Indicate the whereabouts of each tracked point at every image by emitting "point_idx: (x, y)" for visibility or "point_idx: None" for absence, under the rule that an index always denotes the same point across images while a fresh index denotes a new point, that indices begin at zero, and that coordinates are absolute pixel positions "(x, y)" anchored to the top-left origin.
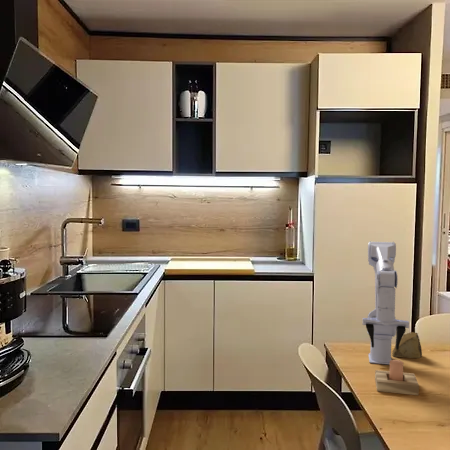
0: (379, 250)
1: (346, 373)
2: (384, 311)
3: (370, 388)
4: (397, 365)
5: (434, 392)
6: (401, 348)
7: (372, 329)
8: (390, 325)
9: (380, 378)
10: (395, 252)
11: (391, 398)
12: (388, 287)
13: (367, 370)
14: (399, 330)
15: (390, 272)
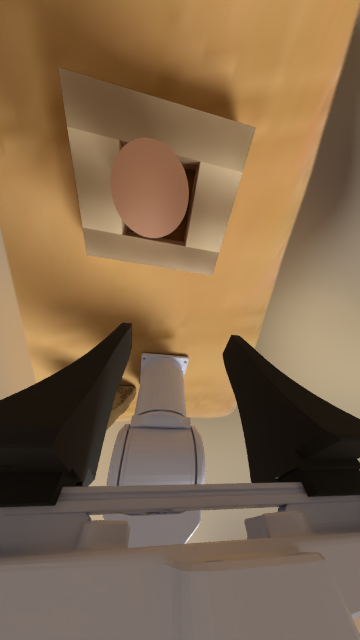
0: None
1: (265, 298)
2: None
3: (251, 176)
4: (152, 141)
5: (24, 152)
6: (115, 401)
7: (331, 426)
8: (142, 498)
9: (225, 179)
10: None
11: (209, 26)
12: None
13: (206, 321)
14: (38, 429)
15: None
